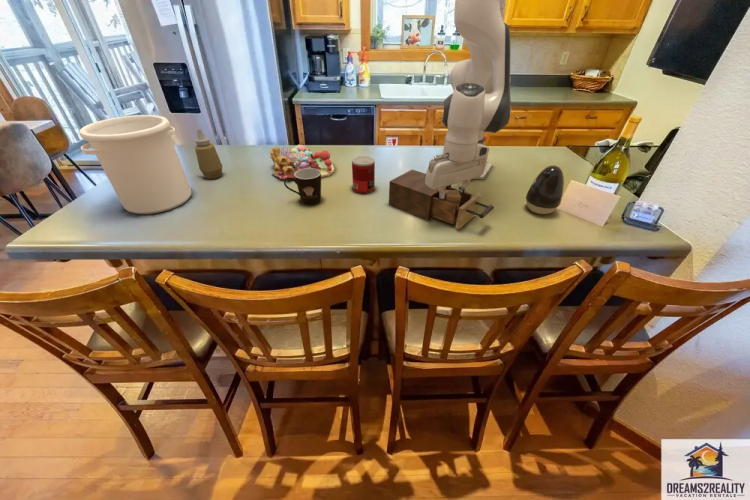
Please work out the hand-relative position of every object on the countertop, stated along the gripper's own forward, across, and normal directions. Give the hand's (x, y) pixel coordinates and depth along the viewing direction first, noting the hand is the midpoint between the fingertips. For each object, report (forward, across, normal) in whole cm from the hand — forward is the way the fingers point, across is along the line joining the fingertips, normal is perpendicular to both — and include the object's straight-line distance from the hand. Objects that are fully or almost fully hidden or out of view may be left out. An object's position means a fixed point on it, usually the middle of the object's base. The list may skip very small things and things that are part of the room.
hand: (452, 195), depth 96 cm
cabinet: (+8, -4, +11) cm, 14 cm away
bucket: (+8, -78, +59) cm, 98 cm away
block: (+4, 0, 0) cm, 4 cm away
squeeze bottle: (+8, -59, +70) cm, 92 cm away
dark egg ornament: (+8, +28, -12) cm, 32 cm away
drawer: (+7, +1, -2) cm, 7 cm away
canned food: (+8, -14, +31) cm, 35 cm away
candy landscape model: (+8, -26, +59) cm, 65 cm away
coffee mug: (+8, -34, +33) cm, 48 cm away
